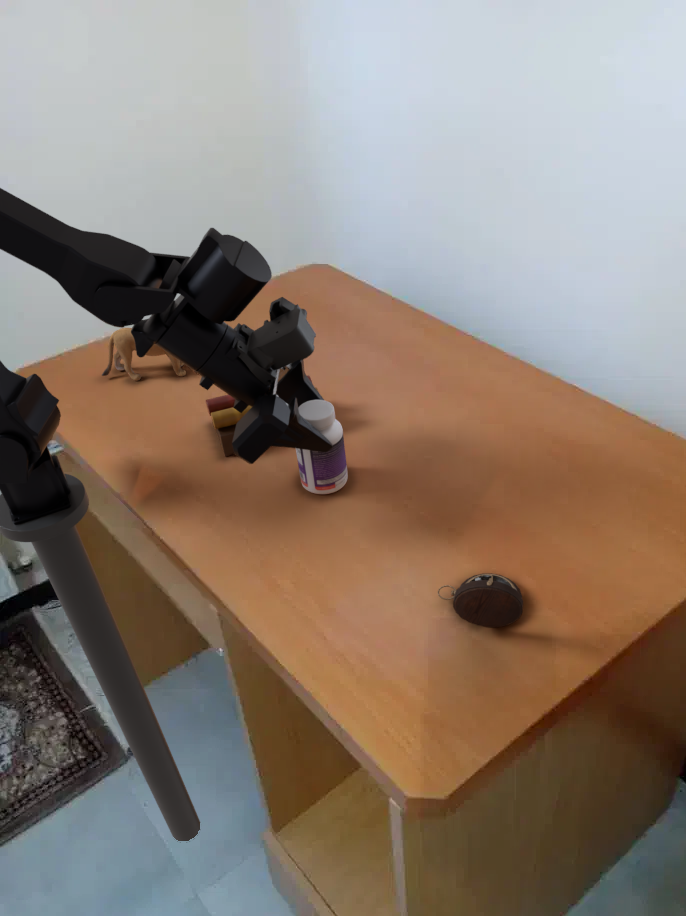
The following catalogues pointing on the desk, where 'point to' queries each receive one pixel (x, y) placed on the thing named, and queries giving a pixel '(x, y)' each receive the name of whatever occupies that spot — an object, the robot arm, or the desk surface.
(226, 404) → the rod rack
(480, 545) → the desk surface
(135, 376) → the lion figurine
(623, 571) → the desk surface
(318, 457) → the pill bottle
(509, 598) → the brown coin purse
